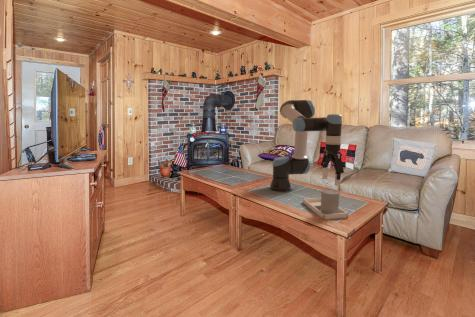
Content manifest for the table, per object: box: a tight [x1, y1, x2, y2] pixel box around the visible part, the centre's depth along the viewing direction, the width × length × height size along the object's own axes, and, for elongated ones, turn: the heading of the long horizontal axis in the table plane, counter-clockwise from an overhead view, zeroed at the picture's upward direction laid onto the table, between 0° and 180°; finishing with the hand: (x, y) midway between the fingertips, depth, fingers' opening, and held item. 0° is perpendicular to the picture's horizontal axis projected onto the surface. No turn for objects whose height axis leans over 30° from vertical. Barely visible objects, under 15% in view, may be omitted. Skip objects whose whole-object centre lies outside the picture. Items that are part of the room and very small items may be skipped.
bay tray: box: [302, 197, 349, 220], centre depth 156 cm, size 27×14×2 cm, turn 9°
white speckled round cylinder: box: [320, 188, 340, 214], centre depth 148 cm, size 10×10×12 cm
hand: (330, 182), depth 146 cm, fingers open, 13 cm apart
